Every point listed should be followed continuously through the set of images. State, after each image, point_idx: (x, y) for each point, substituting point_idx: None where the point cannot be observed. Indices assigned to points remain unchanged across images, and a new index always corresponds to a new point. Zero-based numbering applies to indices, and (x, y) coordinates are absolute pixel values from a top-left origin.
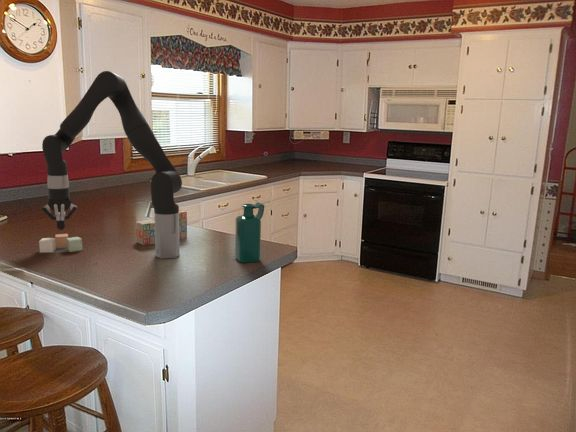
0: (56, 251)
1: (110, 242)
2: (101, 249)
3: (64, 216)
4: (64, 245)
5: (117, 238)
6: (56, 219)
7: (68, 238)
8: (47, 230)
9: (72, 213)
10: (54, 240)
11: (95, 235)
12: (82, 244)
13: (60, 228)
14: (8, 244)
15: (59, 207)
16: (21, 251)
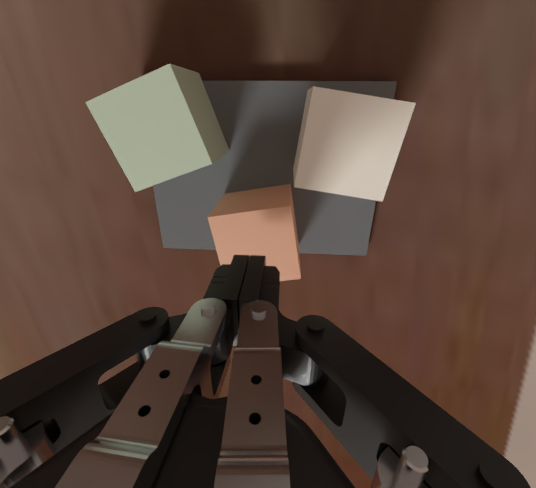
0: (285, 104)
1: (52, 269)
2: (48, 142)
3: (178, 337)
4: (246, 193)
5: (46, 325)
6: (274, 312)
7: (193, 148)
8: (346, 471)
9: (52, 354)
10: (298, 162)
11: None
12: (163, 232)
13: (252, 259)
14: (516, 337)
15: (190, 482)
16: (477, 200)
